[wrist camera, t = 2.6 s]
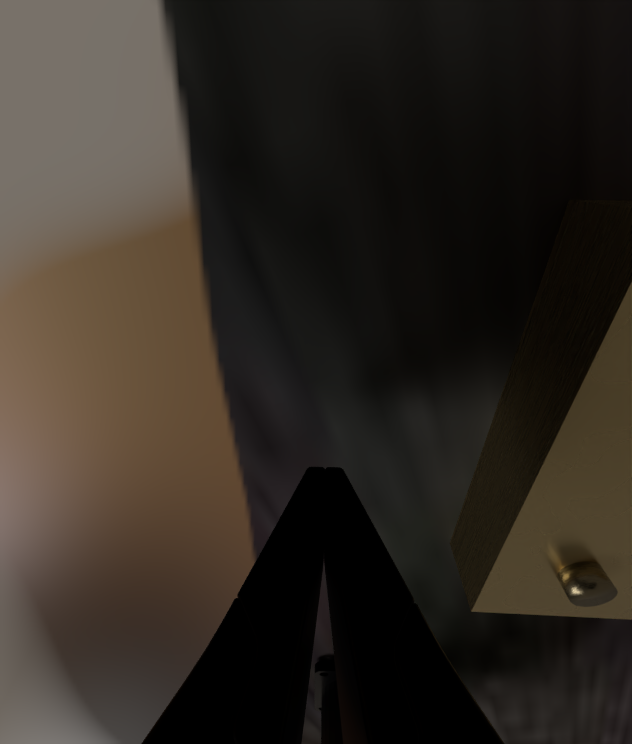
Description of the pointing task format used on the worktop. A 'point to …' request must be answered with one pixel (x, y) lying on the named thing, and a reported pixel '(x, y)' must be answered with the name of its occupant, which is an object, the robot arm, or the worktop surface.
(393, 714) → the robot arm
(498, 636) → the worktop surface
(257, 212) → the worktop surface
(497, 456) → the brass leaf
